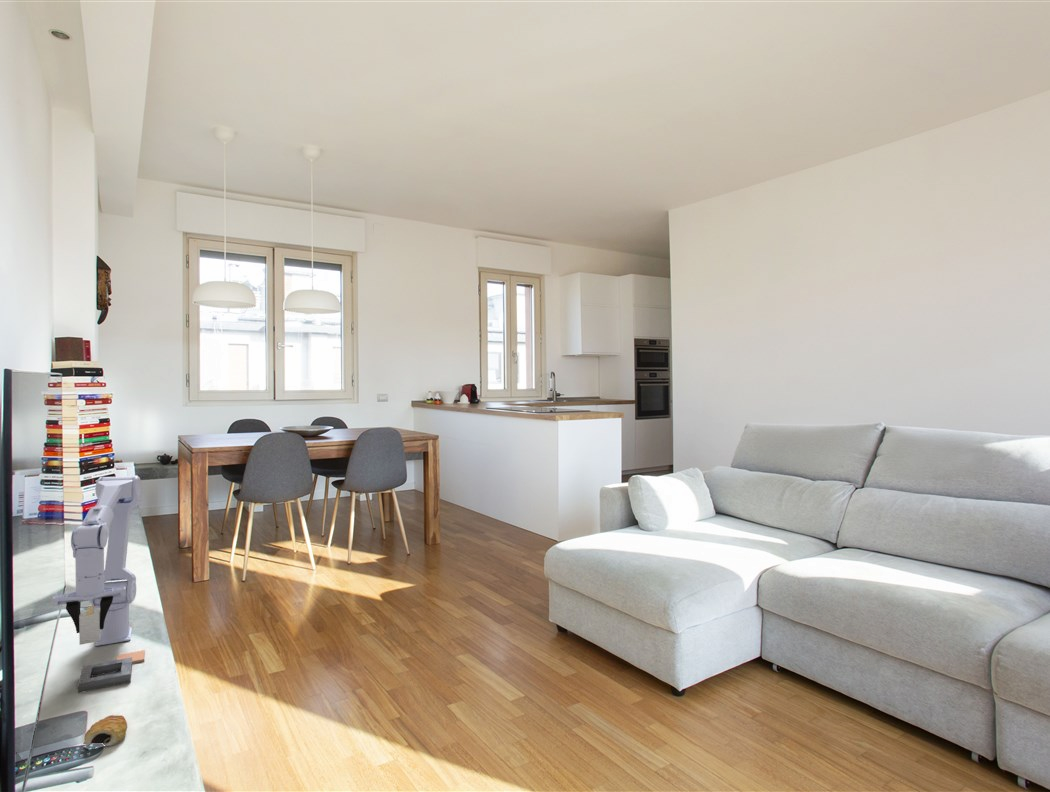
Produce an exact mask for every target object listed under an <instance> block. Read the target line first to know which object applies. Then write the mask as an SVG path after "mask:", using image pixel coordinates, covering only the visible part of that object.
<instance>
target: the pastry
mask: <svg viewBox="0 0 1050 792" xmlns="http://www.w3.org/2000/svg"><path fill="white" fill-rule="evenodd" d="M127 722H128V721H127V720H126V718H125V717H124V716H123V715H113V714H112V715H108V716H106V717H104V718H102V719H99V721H96V722H95V723H93V724H92V725H91V726H90V728H89V729H87V731H86V733H85V734H84V741H83V742H82V744H92V743H103V744H104V745H105V746H108V747H112V746H115V745H116V744H118V742H119V743H121V742H122V741H123V740H124V738H125V736H126V735H127V734H126V733H127V729H128V723H127Z"/></svg>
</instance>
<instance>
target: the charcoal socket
mask: <svg viewBox="0 0 1050 792" xmlns="http://www.w3.org/2000/svg"><path fill="white" fill-rule="evenodd" d="M132 672H133V664H132V657H131V658H126V659H120V660H116V659H115V660H110V661H105V662H104V661H103V662H99V663H93V664H88V665H83V666H82V668H81V672H80V675H79V679H78V683H77V693H78V694H80V693H85V692H90V691H95V690H98V689H105V688H110V687H113V686H119V685H120V686H121V685H124V684H129V683H131V681H132ZM109 673H110V674H109ZM94 676H96V677H94Z"/></svg>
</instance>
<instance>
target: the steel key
mask: <svg viewBox="0 0 1050 792" xmlns="http://www.w3.org/2000/svg"><path fill="white" fill-rule="evenodd" d="M100 617H101V615H100V608H95V607H94V606H92V605H90V606H89V605H88V607H87V609H83V610H81V609H80V615H79V633H78V634H79V645H80V646H81V645H87V644H92V643H95V642H99V641H100V638H101V629H100Z"/></svg>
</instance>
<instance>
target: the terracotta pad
mask: <svg viewBox="0 0 1050 792" xmlns="http://www.w3.org/2000/svg"><path fill="white" fill-rule="evenodd" d="M145 653H146V650H145V649H142V650H137V651H133V652H126V653H120V654H117V655H116V659H115V660H120V659H126V658H131V657H132V665H133V664H138V663H144V662H145V657H146V656H145Z"/></svg>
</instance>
